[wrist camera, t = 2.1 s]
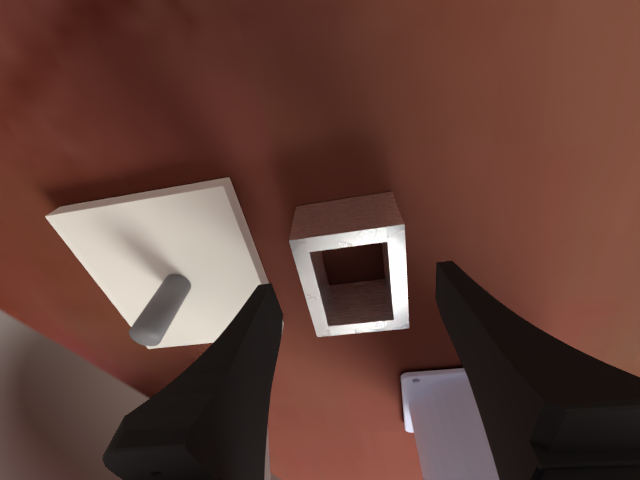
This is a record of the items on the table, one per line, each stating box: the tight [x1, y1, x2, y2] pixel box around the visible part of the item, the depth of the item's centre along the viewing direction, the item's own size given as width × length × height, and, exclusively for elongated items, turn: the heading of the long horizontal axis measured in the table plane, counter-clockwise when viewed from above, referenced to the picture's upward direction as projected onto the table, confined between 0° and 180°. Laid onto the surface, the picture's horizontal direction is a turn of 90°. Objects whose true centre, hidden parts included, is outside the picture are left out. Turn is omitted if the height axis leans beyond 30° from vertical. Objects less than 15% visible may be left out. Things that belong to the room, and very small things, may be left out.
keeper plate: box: [45, 177, 284, 349], centre depth 16 cm, size 9×10×4 cm
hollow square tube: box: [289, 191, 409, 337], centre depth 15 cm, size 6×5×3 cm
